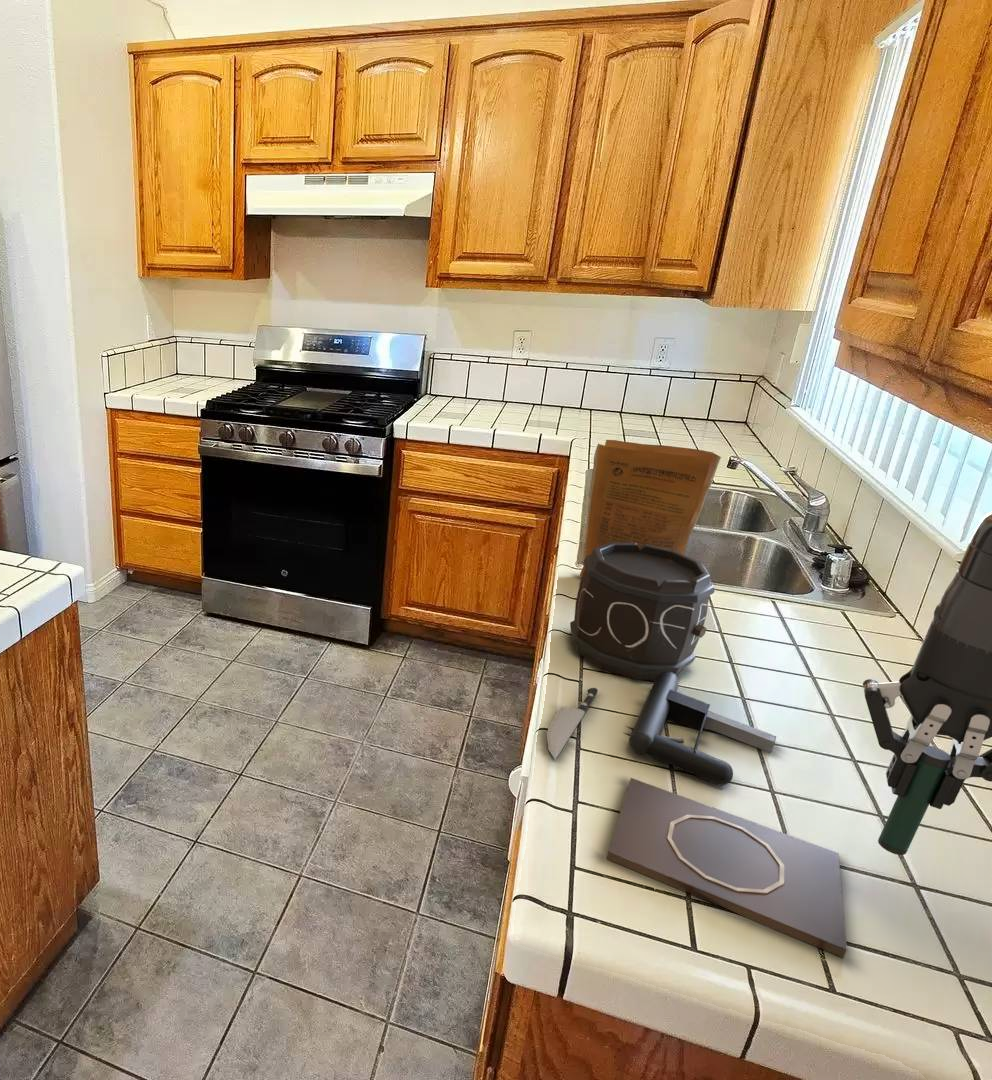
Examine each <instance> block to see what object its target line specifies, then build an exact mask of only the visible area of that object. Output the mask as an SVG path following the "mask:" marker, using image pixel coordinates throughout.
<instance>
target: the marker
mask: <svg viewBox="0 0 992 1080" xmlns="http://www.w3.org/2000/svg"><path fill="white" fill-rule="evenodd" d="M950 761H951V756H950V755H949V752H946V751H945V750H943V749H941V748H939V747H936V746H933V745H931V744H930V745H929V746H926V747H925V749H924V750H923V752H922V753H921V755H920V757H919V758H918V760H917V761H916V765H917V767H916V769H915V772H914V774H913V776H912V778H911V780H910V783H909V785H908V787H907V789H906V791H905V794H904V796H903V797H901V796H898V795H897V796H896V799H895V801H894V802H893V805H892V808H891V810H890V812H889V814H888V817H887V819H886V821H885V824H884V826H883V828H882V830H881V833H880V835H879V837H878V839H877V843H878V845H879V846H880V847H881V848H883V849H884V850H885V851H887V852H888V853H891V854H894V855H897V856H904V855H906V854H907V852H908V850H909V849H910V847H911V844H912V842H913V840H914V837H915V835H916V833H917V832H918V829H919V827H920V825H921V823H922V821H923V818H924V816H925V814H926V812H927V811H928V808H929V806H930V801H931V799H932V797H933V795H934V793H935V791H936V789H937V787H938V784H939V782H940V780H941V778H942V776H943V774H944V772H945V770H946V768H947V766H948V765H949V763H950Z"/></svg>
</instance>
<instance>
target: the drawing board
mask: <svg viewBox="0 0 992 1080" xmlns="http://www.w3.org/2000/svg"><path fill="white" fill-rule="evenodd" d="M839 855H840V854H839V852H838V851H835V850H832V849H829V848H826V847H823V846H821V845H818V844H814V843H812V842H810V841H806V840H804V839H801V838H799V837H796V836H793V835H790V834H787V833H785V832H782V831H779V830H776V829H774V828H771V827H769V826H766V825H762V824H759V823H757V822H755V821H752V820H750V819H749V820H748V819H746V818H743V817H740V816H737V815H735V814H732V813H731V812H730V813H729V812H726V811H724V810H721V809H718V808H715V807H712V806H710V805H708V804H704V803H701V802H699V801H697V800H693V799H690V798H688V797H685V796H683V795H679V794H677V793H674V792H672V791H670V790H669V791H668V790H666V789H663V788H660V787H657V786H655V785H653V784H649V783H647V782H644V781H641V780H638V779H636V778H633V777H630V778H629V781H628V786H627V789H626V792H625V794H624V798H623V801H622V805H621V808H620V811H619V815H618V818H617V821H616V824H615V828H614V831H613V834H612V838H611V841H610V844H609V846H608V850H607V855H606V857H605V858H606V860H608V861H611V862H613V863H615V864H618V865H620V866H623V867H625V868H627V869H630V870H633V871H634V872H637V873H639V874H642V875H645V876H646V877H649V878H652V879H654V880H655V881H656V880H657V881H658V882H661V883H664V884H665V885H668V886H671V887H673V888H675V889H678V890H680V891H682V892H685V893H687V894H690V895H692V896H695V897H697V898H699V899H702V900H704V901H705V902H709V903H711V904H714V905H715V906H718V907H720V908H723V909H726V910H729V911H731V912H733V913H735V914H737V915H740V916H742V917H744V918H747V919H749V920H752V921H755V922H757V923H759V924H761V925H764V926H767V927H768V928H771V929H773V930H776V931H778V932H781V933H783V934H784V935H785V934H786V935H788V936H790V937H793V938H795V939H796V940H800V941H802V942H804V943H806V944H809V945H811V946H815V947H817V948H818V949H821V950H823V951H826V952H829V953H831V954H833V955H835V956H838V957H840V958H845V955H846V953H847V951H848V945H847V936H846V934H847V933H846V925H845V924H846V923H845V922H846V921H845V911H844V899H843V889H842V877H841V864H840V856H839Z"/></svg>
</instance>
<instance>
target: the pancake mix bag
mask: <svg viewBox="0 0 992 1080" xmlns="http://www.w3.org/2000/svg"><path fill="white" fill-rule="evenodd" d="M721 459H722V456H720V455H718V454H716V453H715V452H713V451H708V450H703V449H696V448H690V447H689V448H688V447H682V446H681V447H679V446H673V445H662V444H645V443H638V442H630V441H623V440H616V439H606V440H605V444H602V443H597V445H596V448H595V451H594V455H593V467H592V471H591V480H590V485H589V490H588V504H587V520H586V533H585V534H586V535H585V543H584V548H585V549H584V558H585V557H586V556H588V555H591V554H592V552H593V550H594V549H595V548H597V547H600V546H602V545H605V544H607V543H610V542H631V543H637V545H638V548H639V549H640V548H641V547H642V546H643V545H644V544H649V545H653V546H658V547H662V548H667V549H672V550H675V551H677V552H679V553H682V554H684V555H685V553H686V550H687V546H688V543H689V540H690V537H691V535H692V533H693V530H694V528H695V526H696V525H697V522H698V520H699V517H700V515H701V512H702V511H703V507H704V504H705V501H706V498H707V495H708V492H709V491H710V488H711V486H712V485H713V482H714V479H715V475H716V472H717V470H718V466H719V464H720V461H721ZM584 570H585V565H584V564H583V566H582V568H581V571H580V573H579V577H581V578H582V576H583V573H584Z"/></svg>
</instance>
